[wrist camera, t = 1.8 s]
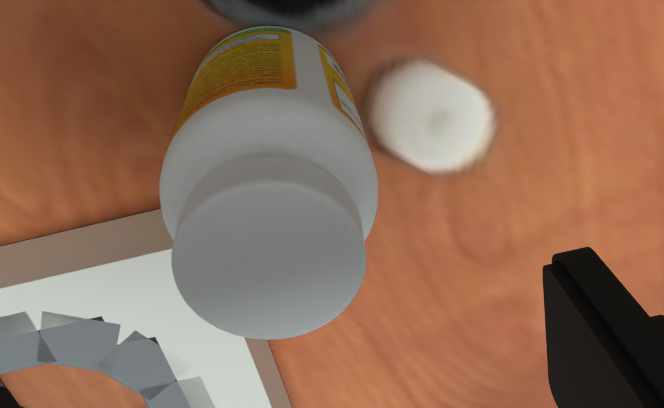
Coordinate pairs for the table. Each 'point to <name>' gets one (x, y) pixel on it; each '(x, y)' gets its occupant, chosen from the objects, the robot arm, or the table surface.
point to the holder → (125, 319)
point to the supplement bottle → (268, 187)
